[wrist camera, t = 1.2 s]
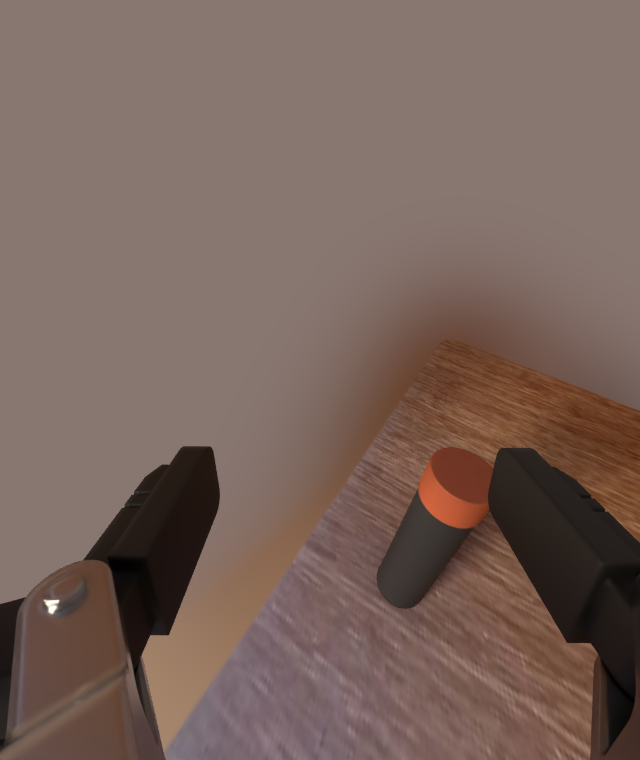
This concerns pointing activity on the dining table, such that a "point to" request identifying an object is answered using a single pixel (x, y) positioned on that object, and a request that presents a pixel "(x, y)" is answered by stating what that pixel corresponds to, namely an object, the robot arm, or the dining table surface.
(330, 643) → the dining table surface
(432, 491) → the marker
